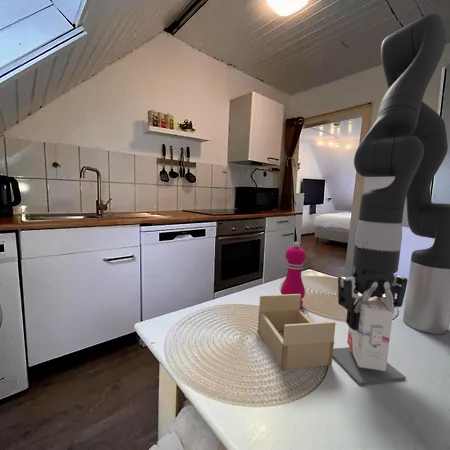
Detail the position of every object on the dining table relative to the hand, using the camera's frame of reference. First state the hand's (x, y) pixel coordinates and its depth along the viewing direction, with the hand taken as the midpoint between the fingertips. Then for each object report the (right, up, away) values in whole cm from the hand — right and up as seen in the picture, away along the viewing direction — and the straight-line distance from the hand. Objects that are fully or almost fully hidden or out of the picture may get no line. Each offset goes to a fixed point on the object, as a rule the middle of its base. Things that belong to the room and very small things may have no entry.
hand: (367, 326), depth 50 cm
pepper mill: (-8, -5, +28) cm, 29 cm away
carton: (-14, -7, +6) cm, 17 cm away
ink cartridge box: (0, -6, +1) cm, 6 cm away
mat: (0, -8, +1) cm, 8 cm away
